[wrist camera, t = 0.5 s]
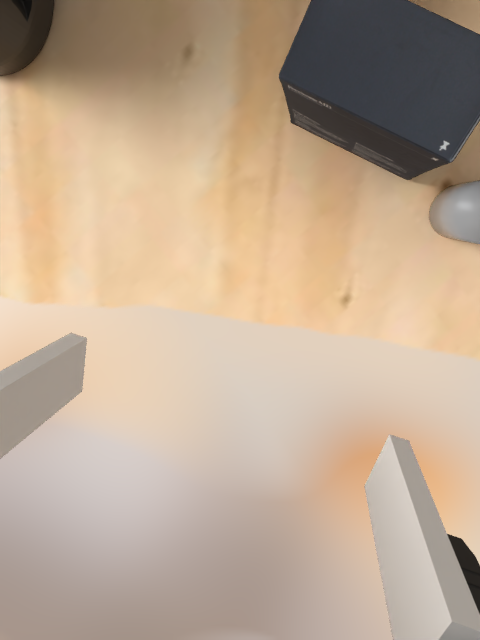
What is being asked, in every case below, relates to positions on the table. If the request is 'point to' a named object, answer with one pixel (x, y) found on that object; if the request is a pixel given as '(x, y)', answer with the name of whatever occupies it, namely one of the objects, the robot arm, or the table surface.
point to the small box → (384, 82)
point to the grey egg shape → (457, 212)
